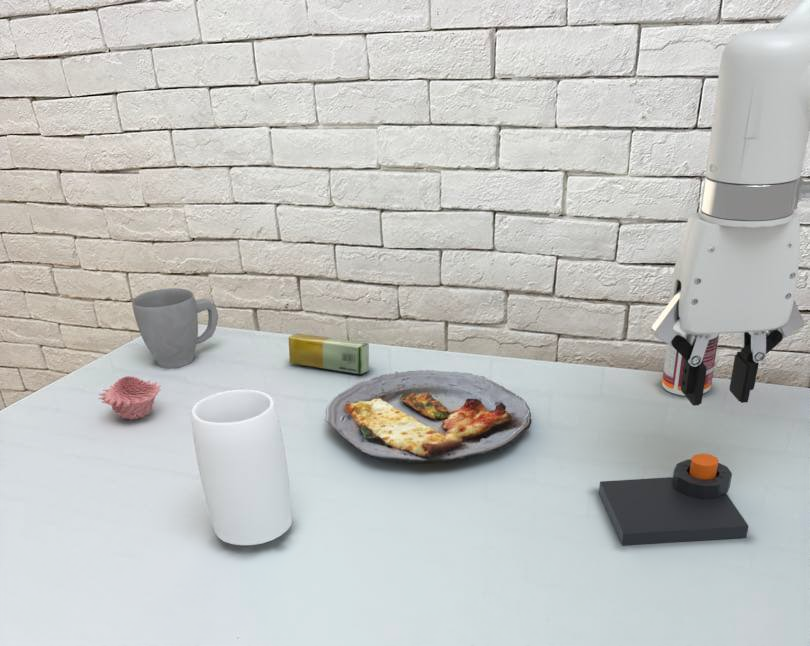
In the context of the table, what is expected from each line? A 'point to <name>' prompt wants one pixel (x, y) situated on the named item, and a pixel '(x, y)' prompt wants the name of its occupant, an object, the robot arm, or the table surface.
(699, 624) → the table surface
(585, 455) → the table surface
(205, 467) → the cup
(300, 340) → the medication box
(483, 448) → the food plate
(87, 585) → the table surface
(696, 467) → the button
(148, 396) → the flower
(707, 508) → the scale
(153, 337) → the mug
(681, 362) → the pill bottle
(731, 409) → the table surface
